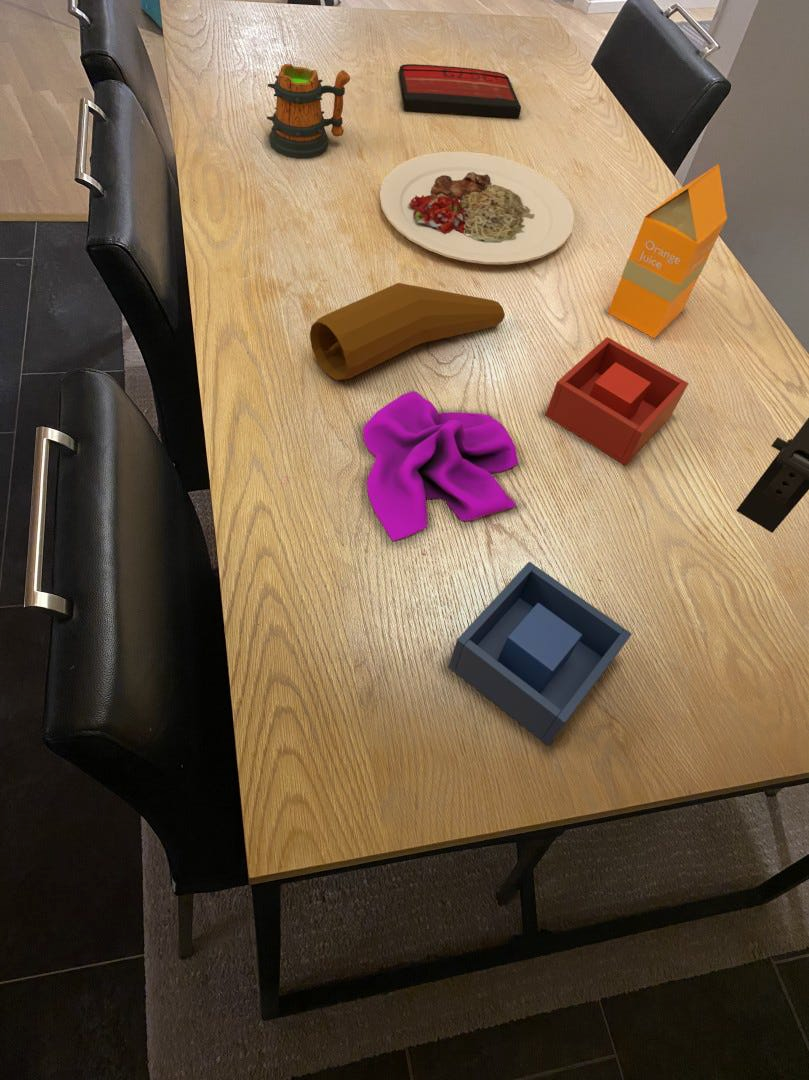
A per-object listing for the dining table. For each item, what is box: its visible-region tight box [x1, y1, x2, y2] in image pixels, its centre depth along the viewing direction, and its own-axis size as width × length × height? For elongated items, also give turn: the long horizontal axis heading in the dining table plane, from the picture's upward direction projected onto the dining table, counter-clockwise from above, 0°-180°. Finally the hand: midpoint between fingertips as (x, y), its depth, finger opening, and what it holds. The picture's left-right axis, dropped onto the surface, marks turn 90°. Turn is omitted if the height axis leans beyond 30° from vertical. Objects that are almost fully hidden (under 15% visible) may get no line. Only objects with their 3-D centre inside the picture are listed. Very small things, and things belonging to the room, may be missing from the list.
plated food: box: [379, 150, 575, 265], centre depth 116 cm, size 30×30×3 cm
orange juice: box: [607, 163, 728, 339], centre depth 99 cm, size 8×9×20 cm
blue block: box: [497, 603, 582, 693], centre depth 71 cm, size 5×5×5 cm
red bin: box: [544, 336, 689, 466], centre depth 92 cm, size 12×12×6 cm
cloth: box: [362, 390, 519, 542], centre depth 84 cm, size 22×19×6 cm
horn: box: [309, 282, 506, 381], centre depth 96 cm, size 8×10×25 cm
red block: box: [589, 362, 651, 420], centre depth 92 cm, size 5×5×5 cm
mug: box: [266, 63, 351, 160], centre depth 120 cm, size 13×10×12 cm
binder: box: [398, 63, 522, 119], centre depth 139 cm, size 16×2×21 cm
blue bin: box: [447, 561, 633, 747], centre depth 71 cm, size 12×12×6 cm
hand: (794, 464), depth 55 cm, fingers open, 13 cm apart
